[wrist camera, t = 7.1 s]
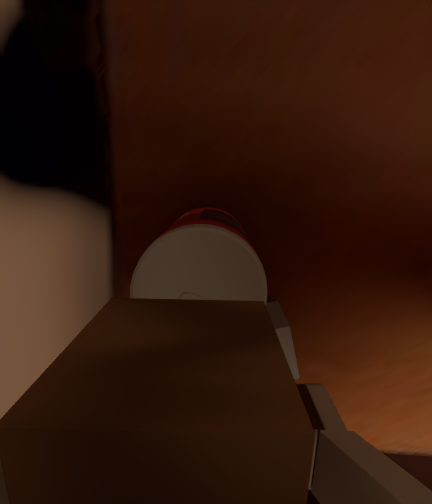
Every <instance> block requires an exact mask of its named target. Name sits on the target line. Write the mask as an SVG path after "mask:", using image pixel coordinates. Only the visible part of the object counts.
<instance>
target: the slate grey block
mask: <svg viewBox="0 0 432 504" xmlns="http://www.w3.org/2000/svg"><path fill="white" fill-rule="evenodd" d="M266 307H267V310H268V313H269V315H270V318H271V320H272V323H273V326H274V328H275V331H276V333H277V336H278V339H279V341H280V344H281V346H282V349H283V352H284V354H285V357H286V359H287V362H288V365H289V367H290V370H291V372H292V375H293V378H294V380H295V379H300V376H299V371H298V366H297V361H296V356H295V350H294V345H293V340H292V335H291V330H290V326H289V323H288V321H287V319H286V317H285V315H284V313H283V311H282V309H281V307H280V305H279V303H278V301H273V302H269V303H266Z"/></svg>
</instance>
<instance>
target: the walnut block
mask: <svg viewBox="0 0 432 504" xmlns="http://www.w3.org/2000/svg"><path fill="white" fill-rule="evenodd" d="M314 442H315V432H314V429H313V427H312V424H311V422H310V419H309V416H308V414H307V411H306V409H305V406H304V404H303V401H302V398H301V396H300V393H299V391H298V388H297V385H296V383H295V380H294V378H293V375H292V372H291V370H290V367H289V365H288V362H287V359H286V357H285V354H284V352H283V349H282V346H281V344H280V341H279V339H278V336H277V333H276V331H275V328H274V326H273V323H272V320H271V318H270V315H269V313H268V310H267V307H266V305H265V302H264V301H238V300H191V299H145V298H111V299H110V300H109V301H108V303H107V304H106V305H105V306H104V307H103V308H102V309H101V310H100V311H99V312H98V313H97V314H96V316H95V317H94V318H93V319H92V320H91V321H90V322H89V323H88V324H87V325H86V326H85V328H84V329H83V330H82V331H81V332H80V333H79V334H78V335H77V336H76V337H75V339H74V340H73V341H72V342H71V343H70V344H69V345H68V346H67V347H66V348H65V350H64V351H63V352H62V353H61V354H60V355H59V356H58V357H57V358H56V359H55V360H54V362H53V363H52V364H51V365H50V366H49V367H48V368H47V369H46V370H45V371H44V372H43V374H42V375H41V376H40V377H39V378H38V379H37V380H36V381H35V382H34V383H33V384H32V385H31V387H30V388H29V389H28V390H27V391H26V392H25V393H24V394H23V395H22V396H21V398H20V399H19V400H18V401H17V402H16V403H15V404H14V405H13V406H12V407H11V408H10V410H9V411H8V412H7V413H6V414H5V415H4V416H3V417H2V418H1V419H0V462H1V467H2V471H3V476H4V481H5V485H6V490H7V495H8V499H9V504H306V502H307V495H308V488H309V480H310V473H311V465H312V457H313V450H314Z"/></svg>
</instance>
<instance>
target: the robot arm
mask: <svg viewBox="0 0 432 504" xmlns="http://www.w3.org/2000/svg"><path fill="white" fill-rule="evenodd" d="M296 385H297V388H298V391H299V393H300V396H301V398H302V401H303V404H304V406H305V409H306V411H307V414H308V416H309V419H310V422H311V424H312V427H313V429H314V432H315V442H314V450H313V457H312V465H311V473H310V480H309V488H308V489H310V490H312V491H311V492H312V493H313V494H314V496H315V497H316V498H317V500H318V501H319V502H320V503H321V504H432V491H431V490H429V489H428V488H427V487H425V486H424V485H422V483H420V482H419V481H417V480H416V479H415V478H414V477H412V476H411V475H410V474H408V473H407V472H406V471H405V470H403V469H402V468H401V467H399V466H398V465H397V464H395V463H394V462H393V461H392V460H390V459H389V458H388V457H386V456H385V455H384V454H382V453H381V452H380V451H379V450H377V449H376V448H375V447H373V446H372V445H371V444H369V443H368V442H367V441H366V440H364V439H363V438H362V437H360V436H359V435H358V434H356V433H355V432H354V431H348V430H347V429H346V427H345V425H344V423H343V421H342V419H341V417H340V415H339V413H338V411H337V409H336V408H335V406H334V404H333V402H332V400H331V398H330V396H329V394H328V392H327V390H326V389H325V387H324V385H322V384H321V383H304V384H296ZM30 387H31V386H30ZM9 410H10V409H9ZM9 410H8V411H9ZM0 504H9V499H8V495H7V490H6V485H5V481H4V476H3V471H2V467H1V462H0Z"/></svg>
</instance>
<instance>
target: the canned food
mask: <svg viewBox="0 0 432 504" xmlns="http://www.w3.org/2000/svg"><path fill="white" fill-rule="evenodd" d="M130 298H145V299H191V300H238V301H264V302H265V305H266V302H267V281H266V276H265V272H264V269H263V265H262V263H261V261H260V258H259V256H258V255H257V253H256V251H255V249H254V247H253V245H252V243H251V241H250V239H249V237H248V236H247V234H246V232H245V230H244V228H243V226H242V225H241V224H240V222H239V221H238V220H237V219H236V218H235V217H233V216H232V215H231V214H230V213H228V212H226V211H224V210H221V209H217V208H210V207H204V208H197V209H194V210H191V211H189V212H187V213H185V214H184V215H182V216H181V217H180V218H179V219H177V220H176V221H175V222H174V223H173V224H172V225H171V226H170V227H169V228H168V229H166V230H165V231H164V232H163V233H162V234H161V235H160V236H159V237H158V238H157V239H156V240H155V241H154V242H153V243H152V244H151V245H150V246H149V247H148V248H147V249H146V251H145V252H144V254H143V255H142V256H141V258H140V260H139V262H138V263H137V266H136V268H135V270H134V273H133V275H132V280H131V285H130Z"/></svg>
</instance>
